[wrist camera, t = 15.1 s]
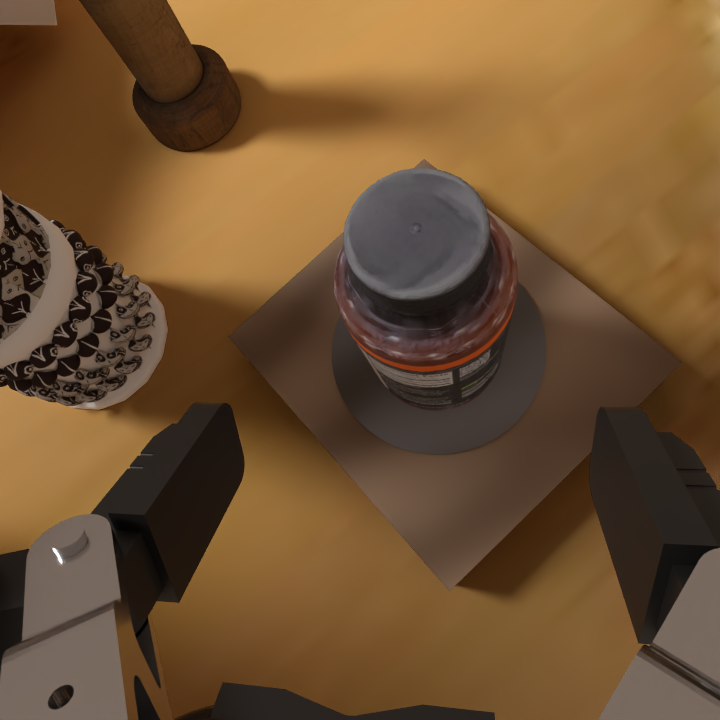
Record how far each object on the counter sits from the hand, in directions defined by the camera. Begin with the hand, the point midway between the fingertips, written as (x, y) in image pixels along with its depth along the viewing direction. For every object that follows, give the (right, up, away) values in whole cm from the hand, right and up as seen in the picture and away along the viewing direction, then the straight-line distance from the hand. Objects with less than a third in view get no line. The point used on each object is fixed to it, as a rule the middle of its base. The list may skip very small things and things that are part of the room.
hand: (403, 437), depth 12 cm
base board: (+3, +2, +16) cm, 16 cm away
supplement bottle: (+3, +2, +13) cm, 14 cm away
